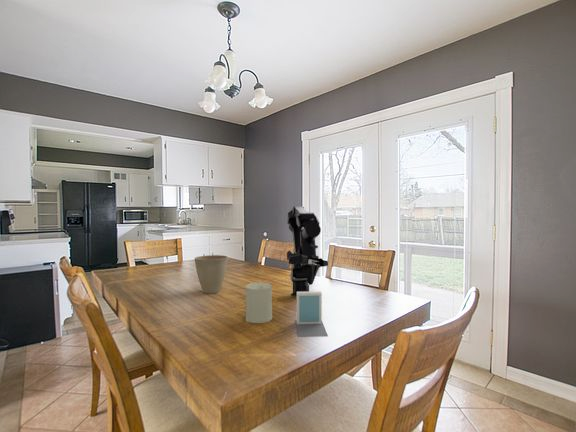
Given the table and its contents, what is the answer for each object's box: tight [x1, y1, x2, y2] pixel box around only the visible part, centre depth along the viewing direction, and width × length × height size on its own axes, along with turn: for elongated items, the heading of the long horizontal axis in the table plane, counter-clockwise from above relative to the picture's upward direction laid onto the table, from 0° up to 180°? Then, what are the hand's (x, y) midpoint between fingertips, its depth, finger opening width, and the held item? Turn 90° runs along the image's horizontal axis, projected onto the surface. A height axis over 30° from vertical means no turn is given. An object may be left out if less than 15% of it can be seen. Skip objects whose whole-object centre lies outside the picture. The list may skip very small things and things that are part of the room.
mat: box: [294, 319, 329, 338], centre depth 91 cm, size 13×9×1 cm
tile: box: [296, 290, 323, 324], centre depth 95 cm, size 2×8×10 cm, turn 92°
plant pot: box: [194, 254, 229, 295], centre depth 134 cm, size 15×15×16 cm
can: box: [245, 282, 273, 324], centre depth 100 cm, size 9×9×12 cm
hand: (310, 284), depth 108 cm, fingers closed
